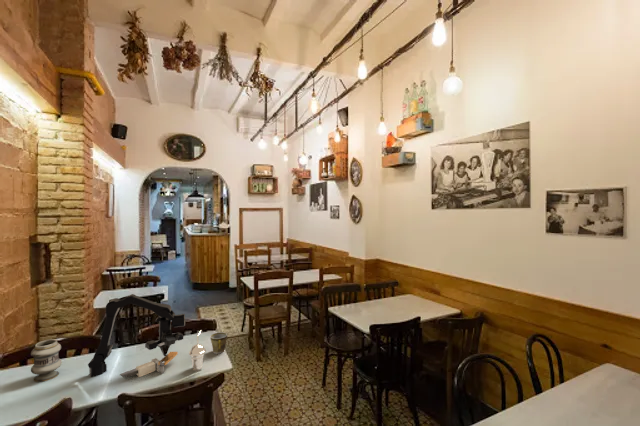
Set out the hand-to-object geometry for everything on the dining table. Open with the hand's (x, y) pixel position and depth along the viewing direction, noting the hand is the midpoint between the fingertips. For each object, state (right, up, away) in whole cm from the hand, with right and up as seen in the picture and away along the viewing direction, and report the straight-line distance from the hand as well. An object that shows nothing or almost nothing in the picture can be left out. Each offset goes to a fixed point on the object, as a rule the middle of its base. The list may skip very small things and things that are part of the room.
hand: (164, 355), depth 171 cm
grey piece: (-6, -5, -11) cm, 13 cm away
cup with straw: (+21, -6, -5) cm, 22 cm away
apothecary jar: (-55, -6, -12) cm, 57 cm away
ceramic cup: (+25, -6, +16) cm, 30 cm away
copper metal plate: (+4, 0, -5) cm, 6 cm away
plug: (-7, -4, -12) cm, 14 cm away
